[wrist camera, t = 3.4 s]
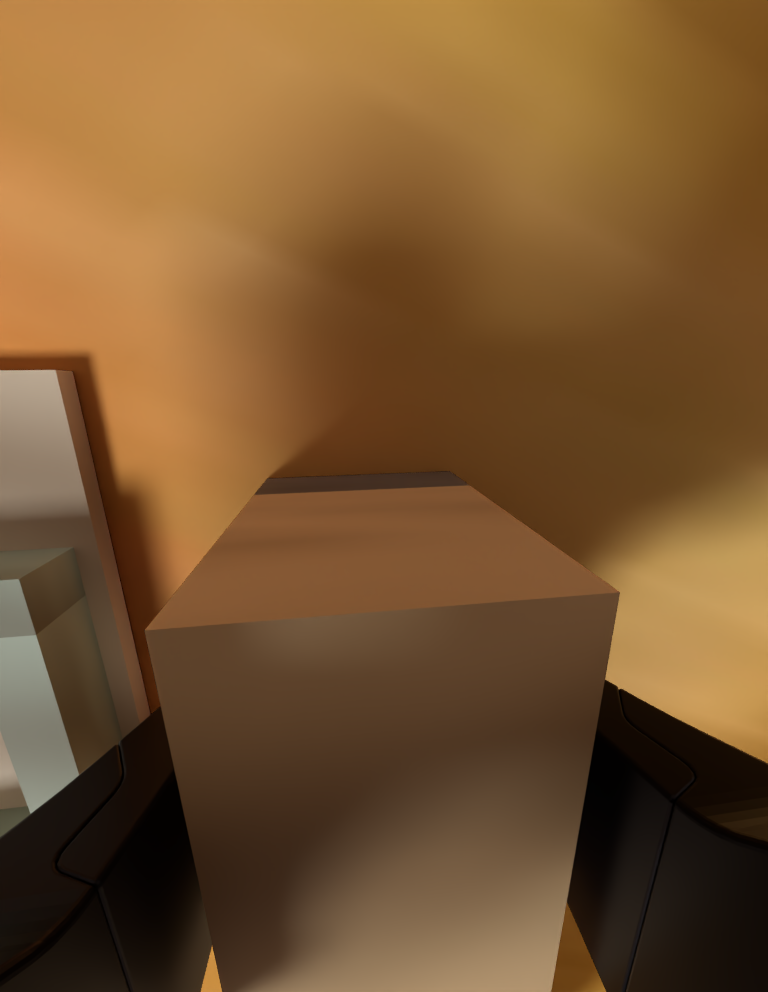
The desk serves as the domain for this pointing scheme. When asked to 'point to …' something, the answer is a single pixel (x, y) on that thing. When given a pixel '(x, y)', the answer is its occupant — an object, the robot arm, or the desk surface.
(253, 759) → the plug block
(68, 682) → the socket plate
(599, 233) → the desk surface
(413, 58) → the desk surface
